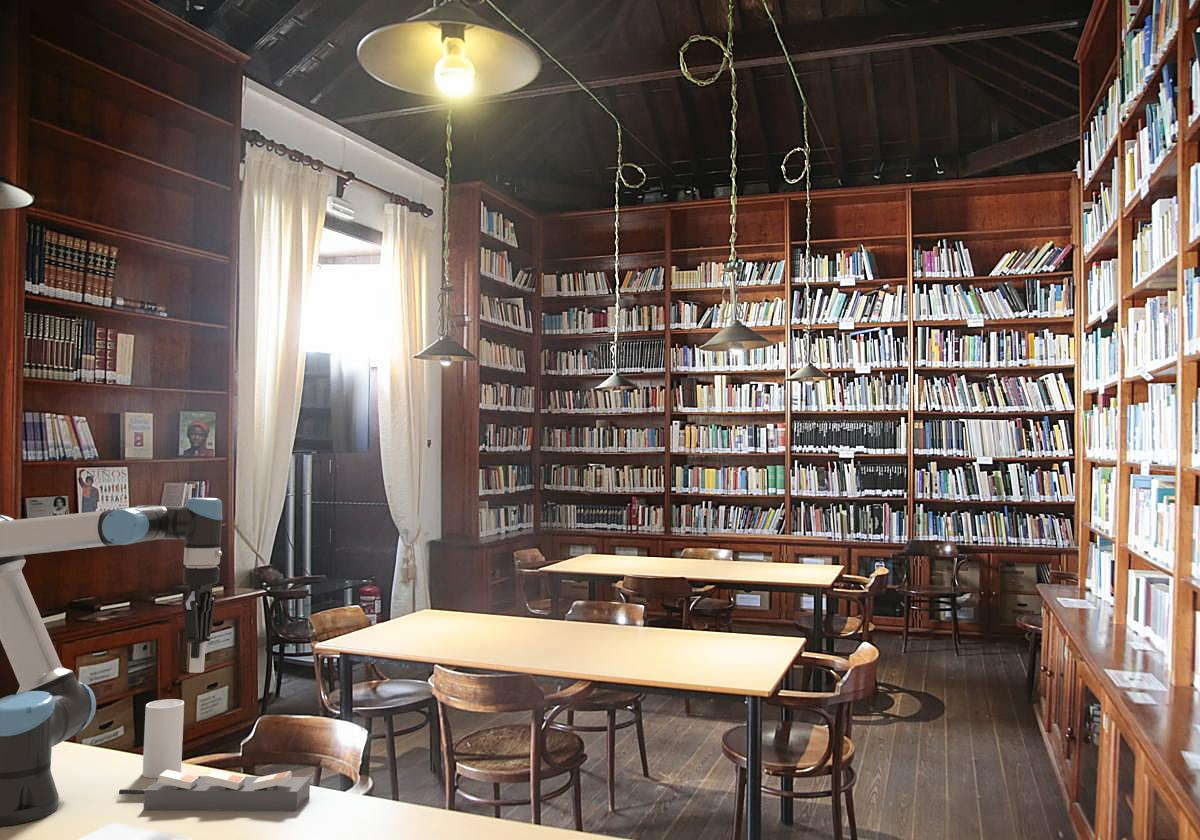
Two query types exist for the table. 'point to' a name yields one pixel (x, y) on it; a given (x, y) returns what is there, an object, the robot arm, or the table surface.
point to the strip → (225, 796)
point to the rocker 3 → (272, 780)
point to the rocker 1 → (178, 779)
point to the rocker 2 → (225, 779)
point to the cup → (163, 737)
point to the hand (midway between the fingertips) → (196, 671)
